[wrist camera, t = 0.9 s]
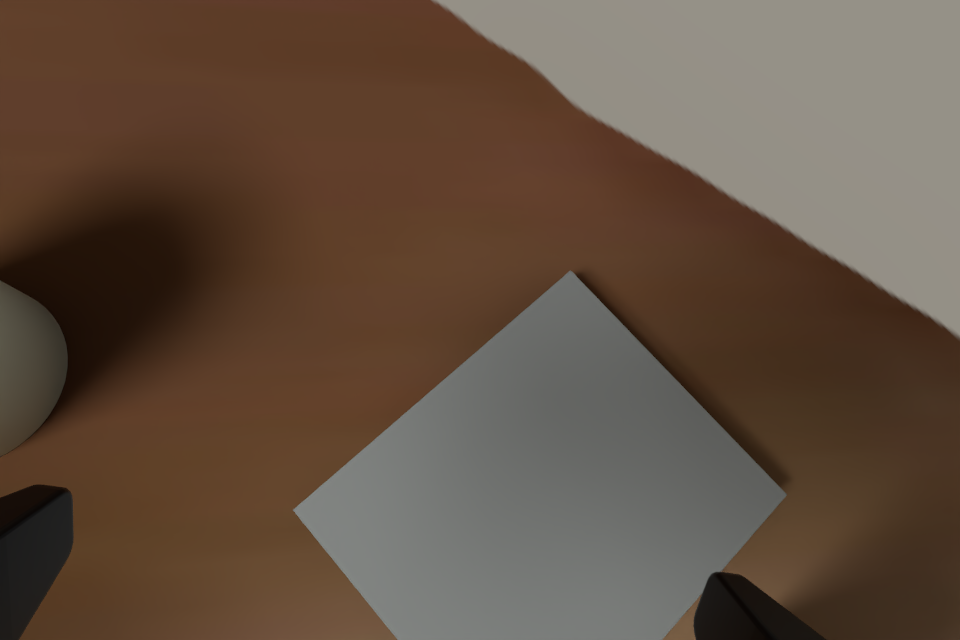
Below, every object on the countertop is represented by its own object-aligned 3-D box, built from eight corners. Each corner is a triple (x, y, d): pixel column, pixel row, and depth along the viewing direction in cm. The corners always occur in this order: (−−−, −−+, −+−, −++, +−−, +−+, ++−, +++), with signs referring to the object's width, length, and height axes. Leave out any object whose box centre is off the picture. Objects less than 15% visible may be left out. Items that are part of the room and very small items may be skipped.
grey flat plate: (770, 495, 25) (787, 494, 24) (519, 782, 21) (525, 798, 20) (563, 280, 27) (570, 270, 25) (298, 509, 23) (292, 510, 22)
